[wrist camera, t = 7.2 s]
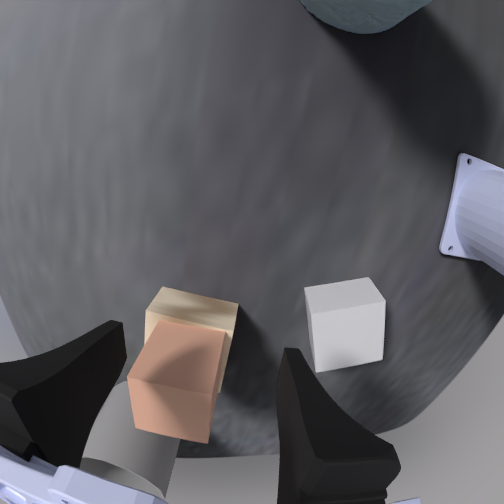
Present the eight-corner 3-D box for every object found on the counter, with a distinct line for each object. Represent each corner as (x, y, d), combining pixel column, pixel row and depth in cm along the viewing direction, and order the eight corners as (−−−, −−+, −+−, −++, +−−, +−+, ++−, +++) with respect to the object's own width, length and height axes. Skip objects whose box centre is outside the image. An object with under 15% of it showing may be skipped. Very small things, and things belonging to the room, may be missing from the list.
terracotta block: (225, 331, 20) (211, 394, 14) (219, 380, 21) (207, 443, 16) (159, 319, 20) (127, 376, 14) (160, 369, 21) (135, 427, 16)
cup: (119, 368, 27) (76, 443, 17) (196, 404, 27) (175, 488, 18) (106, 411, 29) (73, 476, 20) (171, 441, 30) (151, 511, 21)
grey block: (368, 276, 22) (385, 300, 19) (368, 330, 24) (382, 359, 20) (304, 286, 23) (310, 314, 19) (309, 340, 24) (315, 372, 21)
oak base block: (238, 302, 24) (233, 331, 20) (225, 361, 26) (219, 393, 22) (163, 285, 24) (146, 310, 20) (158, 345, 25) (144, 374, 22)
